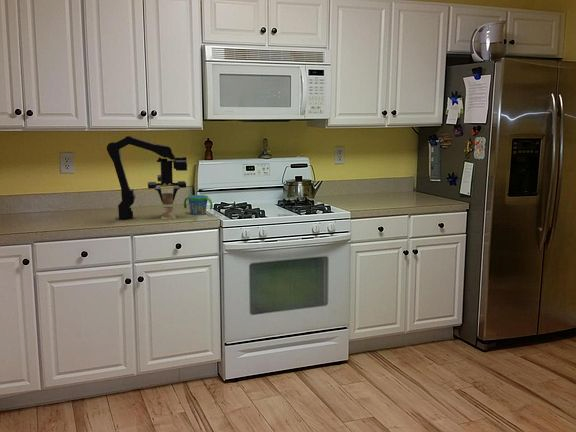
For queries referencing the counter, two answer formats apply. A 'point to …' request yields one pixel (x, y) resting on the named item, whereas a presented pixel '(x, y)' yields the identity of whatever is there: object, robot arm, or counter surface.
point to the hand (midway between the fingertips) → (167, 201)
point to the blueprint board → (166, 218)
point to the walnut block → (167, 198)
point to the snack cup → (198, 204)
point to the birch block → (168, 212)
